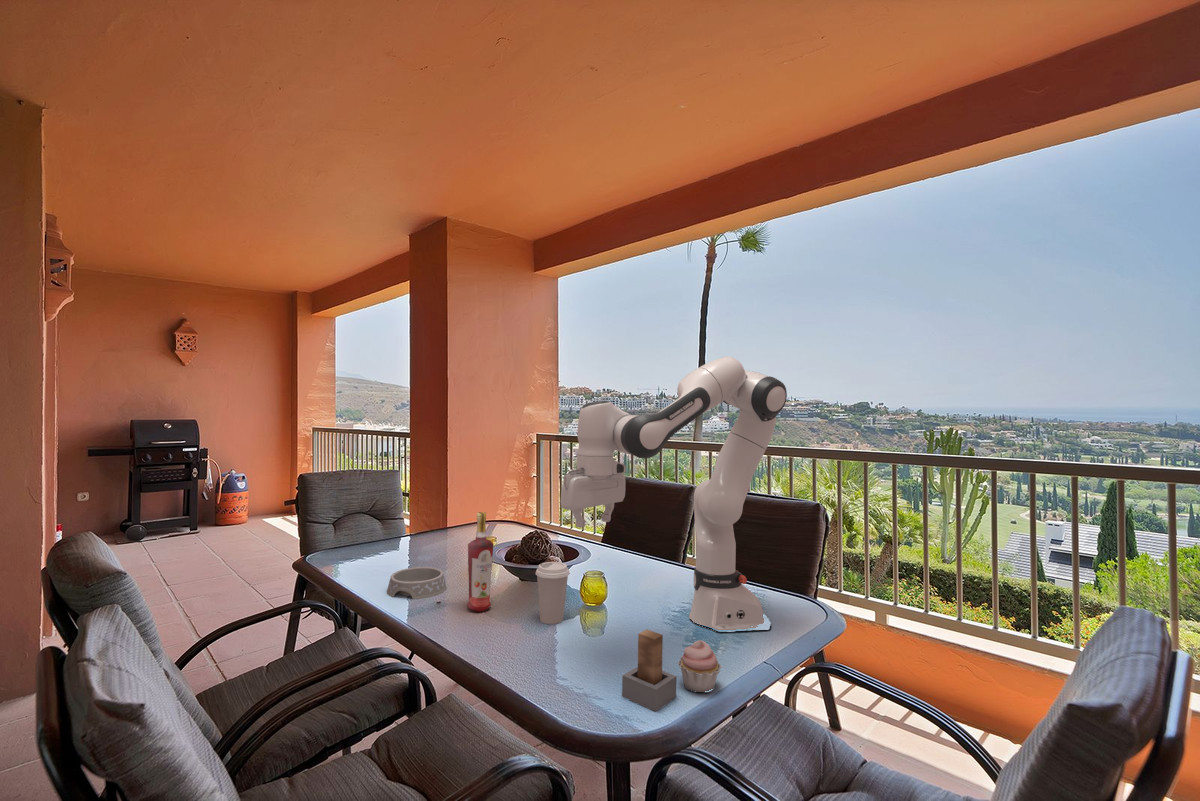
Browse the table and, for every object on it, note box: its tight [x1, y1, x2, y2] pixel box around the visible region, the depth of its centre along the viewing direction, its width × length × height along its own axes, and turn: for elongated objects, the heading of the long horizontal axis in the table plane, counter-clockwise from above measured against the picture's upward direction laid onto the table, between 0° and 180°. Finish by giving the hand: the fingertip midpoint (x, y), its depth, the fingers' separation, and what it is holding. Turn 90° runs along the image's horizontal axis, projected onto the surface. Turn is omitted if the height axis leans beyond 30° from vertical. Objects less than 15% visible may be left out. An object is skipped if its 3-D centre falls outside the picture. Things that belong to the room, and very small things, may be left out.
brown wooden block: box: [637, 629, 664, 685], centre depth 112 cm, size 4×3×12 cm
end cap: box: [621, 666, 678, 713], centre depth 111 cm, size 8×7×4 cm
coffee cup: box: [535, 561, 571, 625], centre depth 151 cm, size 10×10×15 cm
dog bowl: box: [386, 566, 447, 600], centre depth 174 cm, size 17×18×5 cm
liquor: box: [467, 511, 494, 613], centre depth 158 cm, size 7×7×28 cm
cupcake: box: [677, 639, 722, 693], centre depth 116 cm, size 9×9×10 cm
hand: (593, 524), depth 131 cm, fingers open, 8 cm apart
